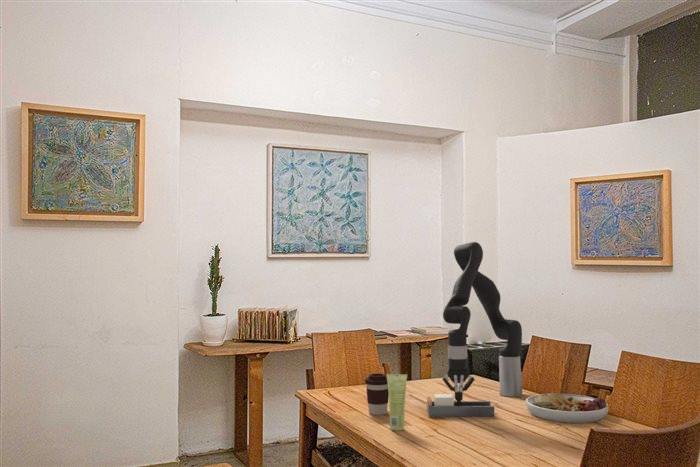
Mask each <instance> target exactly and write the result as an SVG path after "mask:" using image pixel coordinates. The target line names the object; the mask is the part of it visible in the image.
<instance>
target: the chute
mask: <svg viewBox="0 0 700 467" xmlns="http://www.w3.org/2000/svg"><path fill="white" fill-rule="evenodd" d="M426 412H427V416H428V418H496V417H495V406H494V405H492V403H491V401H490V400H487V401H486V400H468V401H467V400H466V401H465V400H461V402H457V400H454V406H434V400H433V399H432V397H431V396H427V397H426Z"/></svg>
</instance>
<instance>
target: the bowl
mask: <svg viewBox="0 0 700 467" xmlns="http://www.w3.org/2000/svg"><path fill="white" fill-rule="evenodd" d="M525 405H526V408H527V410H528V411H529V412H530V413H531V414H532V415H533V416H535V417H537V418H539V419H543V420H546V421H547V420H548V421H551V422H556V423H557V422H558V423H565V424H566V423H567V424H587V423H588V424H589V423H593V422H597V421H600V420H602V419H604V418H605V417H606V416H607V414H608V412H609V404H608V403H607V401H606V400H605V399H603V398H601V397H595V398H594V397H592V396H591V397H590V396H586V395H579V394H570V393H569V394H568V393H553V392H551V393H549V392H548V393H543V394H541V393H540V394H534V395H531V396H528V397H527V398H526V399H525Z"/></svg>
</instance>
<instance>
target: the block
mask: <svg viewBox="0 0 700 467" xmlns="http://www.w3.org/2000/svg"><path fill="white" fill-rule="evenodd" d="M433 395H434V396H433V401H434V406H454V401H455V396H454V395H453V394H452V393H449V394H448V393H447V394H446V393H441V394H440V393H435V394H433Z"/></svg>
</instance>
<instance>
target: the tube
mask: <svg viewBox="0 0 700 467" xmlns="http://www.w3.org/2000/svg"><path fill="white" fill-rule="evenodd" d="M385 375H386V377H387V383H388V393H389V396H388V405H389V429H390V430H391V431H393V432H394V431H396V432H399V431H403V430H404V429H405V407H406V406H405V405H406V392H407V390H406V389H407V379H408V374H405V373H404V374H403V373H402V374H395V373H394V374H393V373H391V374H390V373H388V374H387V373H386V374H385Z"/></svg>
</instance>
